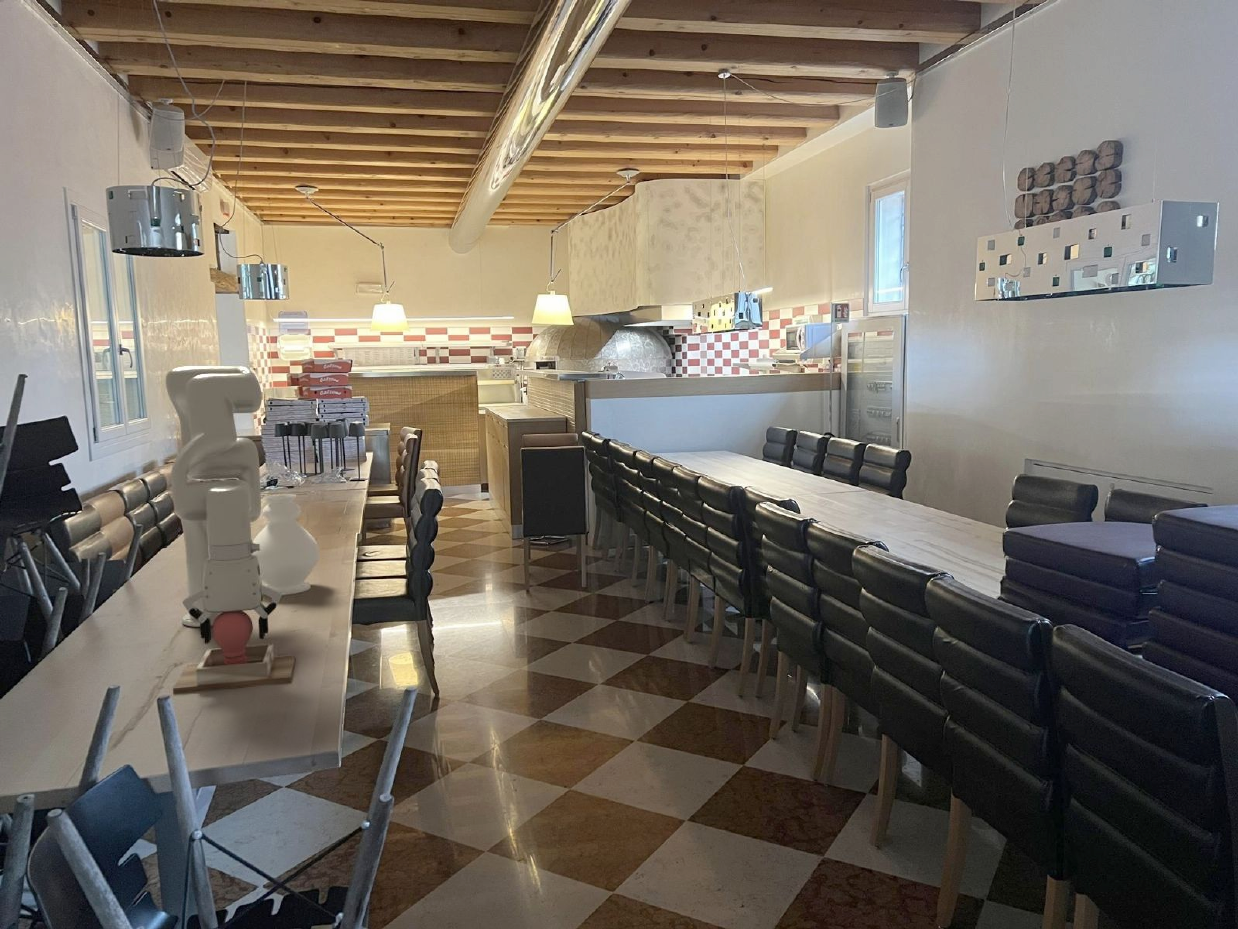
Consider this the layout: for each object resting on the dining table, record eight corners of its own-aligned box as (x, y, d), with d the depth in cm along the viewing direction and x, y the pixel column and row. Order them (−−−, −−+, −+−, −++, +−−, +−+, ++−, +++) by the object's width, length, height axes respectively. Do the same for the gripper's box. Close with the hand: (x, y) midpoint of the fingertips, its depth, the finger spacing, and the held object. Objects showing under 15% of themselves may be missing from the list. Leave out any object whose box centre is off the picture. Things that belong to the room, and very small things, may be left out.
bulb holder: (187, 669, 173) (186, 650, 172) (295, 660, 178) (294, 640, 178) (173, 693, 160) (171, 672, 160) (290, 682, 166) (289, 661, 165)
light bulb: (208, 671, 169) (205, 610, 168) (246, 661, 174) (242, 602, 173) (223, 680, 164) (219, 617, 163) (261, 670, 169) (257, 609, 168)
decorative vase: (319, 578, 246) (315, 489, 243) (322, 594, 229) (318, 498, 226) (250, 584, 239) (245, 493, 236) (248, 600, 223) (243, 503, 220)
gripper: (281, 544, 172) (285, 629, 175) (184, 550, 168) (189, 637, 170) (277, 553, 165) (281, 641, 167) (176, 558, 161) (181, 649, 163)
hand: (235, 639), depth 169 cm, fingers open, 9 cm apart
